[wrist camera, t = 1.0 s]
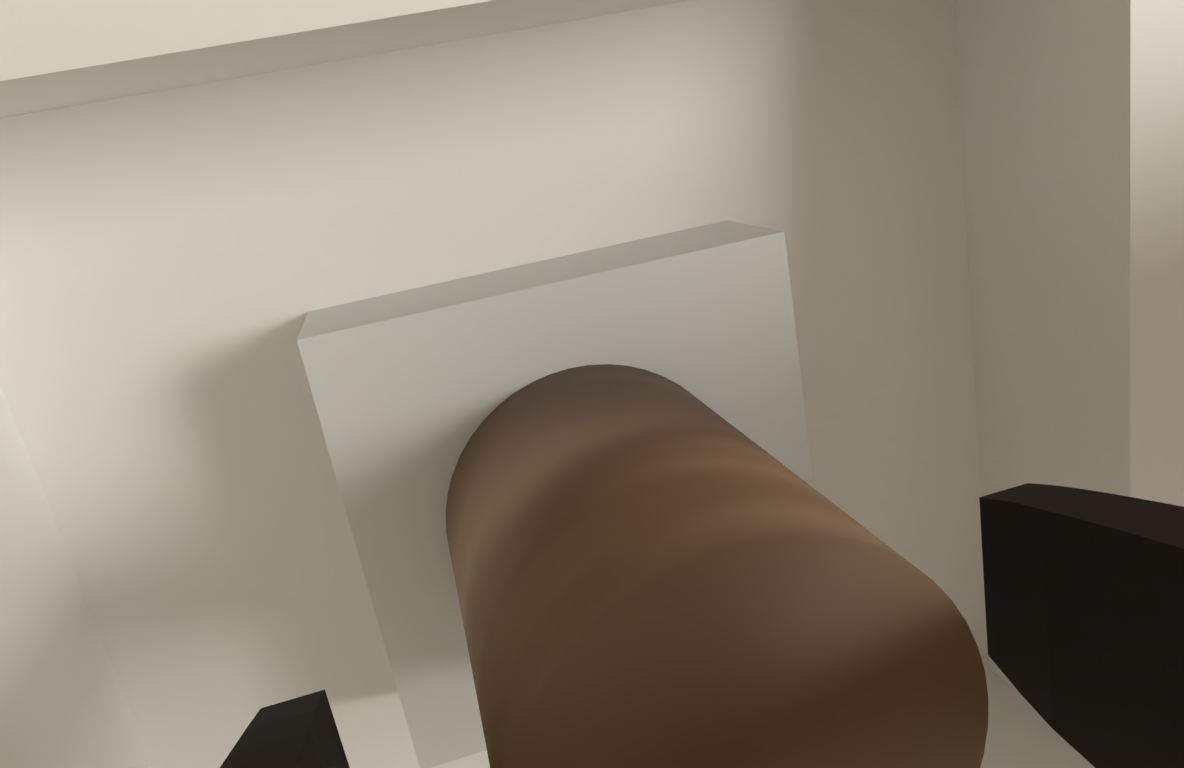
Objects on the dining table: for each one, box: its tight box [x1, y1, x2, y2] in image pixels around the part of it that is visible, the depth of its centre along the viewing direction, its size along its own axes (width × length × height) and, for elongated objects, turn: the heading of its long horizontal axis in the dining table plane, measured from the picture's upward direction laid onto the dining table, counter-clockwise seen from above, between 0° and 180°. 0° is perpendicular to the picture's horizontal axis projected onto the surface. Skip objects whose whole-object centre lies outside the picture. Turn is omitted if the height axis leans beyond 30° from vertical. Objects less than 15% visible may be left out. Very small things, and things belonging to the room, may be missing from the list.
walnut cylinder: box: [446, 364, 988, 768], centre depth 10 cm, size 4×4×6 cm
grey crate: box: [0, 0, 1184, 768], centre depth 14 cm, size 18×16×4 cm
